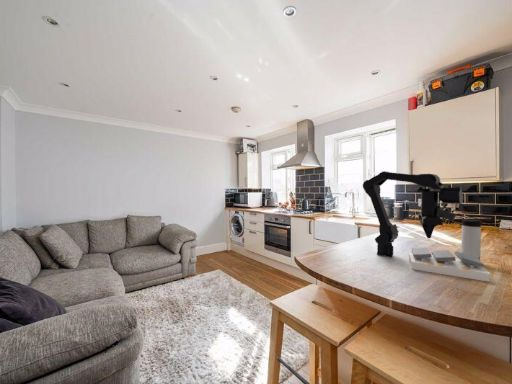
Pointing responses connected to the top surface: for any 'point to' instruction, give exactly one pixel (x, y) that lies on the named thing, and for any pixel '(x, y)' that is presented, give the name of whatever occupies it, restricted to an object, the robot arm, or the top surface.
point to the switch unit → (449, 268)
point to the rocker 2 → (443, 255)
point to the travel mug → (471, 237)
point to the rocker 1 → (420, 252)
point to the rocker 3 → (468, 259)
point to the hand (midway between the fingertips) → (428, 238)
